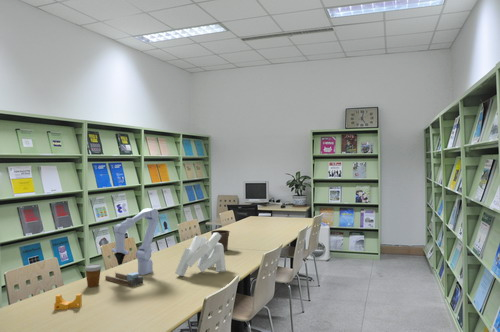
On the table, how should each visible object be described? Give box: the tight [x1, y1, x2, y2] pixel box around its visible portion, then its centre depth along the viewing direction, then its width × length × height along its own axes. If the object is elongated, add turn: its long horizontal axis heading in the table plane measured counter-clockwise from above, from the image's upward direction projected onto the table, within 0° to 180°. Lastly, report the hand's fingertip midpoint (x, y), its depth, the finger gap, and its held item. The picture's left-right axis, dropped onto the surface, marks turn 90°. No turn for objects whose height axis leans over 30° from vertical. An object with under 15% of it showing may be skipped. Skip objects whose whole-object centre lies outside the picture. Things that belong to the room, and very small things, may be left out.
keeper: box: [126, 271, 140, 281], centre depth 238 cm, size 5×5×6 cm
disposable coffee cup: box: [84, 263, 102, 288], centre depth 234 cm, size 10×10×12 cm
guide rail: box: [104, 272, 144, 287], centre depth 242 cm, size 9×25×4 cm, turn 57°
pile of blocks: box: [174, 232, 227, 277], centre depth 263 cm, size 35×30×35 cm
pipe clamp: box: [53, 293, 83, 310], centre depth 198 cm, size 12×4×6 cm, turn 98°
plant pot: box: [210, 229, 231, 252], centre depth 330 cm, size 16×16×16 cm
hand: (120, 264), depth 246 cm, fingers closed
